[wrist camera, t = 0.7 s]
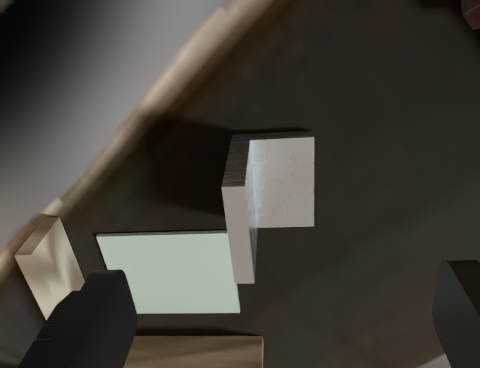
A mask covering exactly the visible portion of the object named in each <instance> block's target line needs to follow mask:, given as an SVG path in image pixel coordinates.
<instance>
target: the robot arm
mask: <svg viewBox="0 0 480 368" xmlns="http://www.w3.org/2000/svg"><path fill="white" fill-rule="evenodd" d="M432 314H433V322H434V327H435V330H436V333H437V335H438V338H439V340H440V342H441V345H442V347H443V349H444V351H445V354H446V356H447V358H448V361H449V363H450V365H451V368H480V262H479V261H477V260H461V261H443V262H442V263H441V265H440V268H439V273H438V279H437V285H436V290H435V296H434V301H433V308H432ZM136 329H137V312H136V308H135V304H134V301H133V298H132V294H131V291H130V288H129V284H128V281H127V278H126V275H125V273H124V271H123V270H121V269H118V270H93V271H92V272H91V273H90V274H89V276H88V277H87V279H86V281H85V282H84V284H83V286H82V288H81V289H80V290H79V291H72V292H70V293H69V294H68V295H67V296H66V297H65V298H64V299H63V300H61V301H60V302H59V303H58V304H57V305H56V306H55V308H54V309H53V311H52V313H51V314H50V316H49V317H48V319H47V321H46V322H45V326H43V327H42V329H41V330H40V332H39V334H38V335H37V337H36V341H34V342H33V343H32V345H31V347H30V348H29V350H28V351H27V353H26V355H25V356H24V358H23V359H22V361H21V363H20V364H19V366H18V368H124V365H125V362H126V359H127V356H128V354H129V351H130V348H131V345H132V343H133V340H134V337H135V334H136Z"/></svg>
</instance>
